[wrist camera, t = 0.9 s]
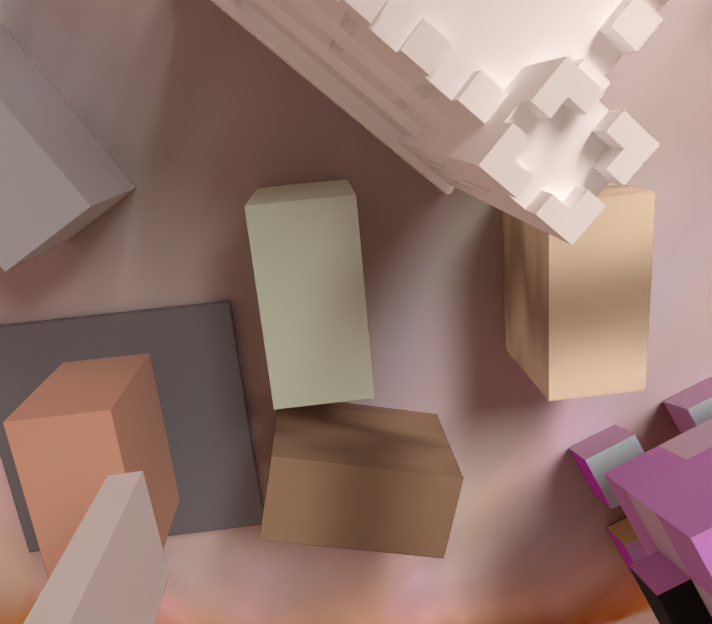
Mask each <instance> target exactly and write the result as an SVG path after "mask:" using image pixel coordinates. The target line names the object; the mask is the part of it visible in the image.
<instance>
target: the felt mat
mask: <svg viewBox="0 0 712 624" xmlns="http://www.w3.org/2000/svg"><path fill="white" fill-rule="evenodd" d="M145 353H150V357H151V362H152V367H153V372H154V377H155V382H156V387H157V392H158V396H159V401H160V406H161V411H162V416H163V421H164V426H165V431H166V435H167V440H168V445H169V450H170V455H171V460H172V465H173V470H174V474H175V479H176V484H177V489H178V494H179V499H180V501H179V504H178V507H177V510H176V512H175V515H174V518H173V521H172V524H171V527H170V530H169V533H168V536H169V535H178V534H186V533H194V532H203V531H211V530H219V529H228V528H236V527H244V526H253V525H261V523H262V515H263V506H262V499H261V493H260V487H259V481H258V474H257V468H256V462H255V456H254V449H253V443H252V437H251V431H250V424H249V418H248V412H247V406H246V399H245V393H244V387H243V380H242V374H241V368H240V362H239V355H238V349H237V343H236V337H235V330H234V324H233V318H232V312H231V305H230V301H222V302H212V303H203V304H194V305H184V306H175V307H166V308H156V309H147V310H138V311H129V312H119V313H110V314H101V315H91V316H82V317H73V318H63V319H54V320H45V321H35V322H26V323H17V324H7V325H0V455H1V458H2V462H3V465H4V468H5V472H6V475H7V478H8V482H9V485H10V488H11V492H12V495H13V499H14V502H15V505H16V509H17V512H18V515H19V519H20V522H21V525H22V529H23V532H24V536H25V539H26V542H27V546H28V549H29V552H36V551H40V548H39V545H38V541H37V538H36V534H35V531H34V527H33V524H32V520H31V517H30V514H29V510H28V507H27V503H26V500H25V496H24V493H23V490H22V486H21V483H20V479H19V476H18V472H17V469H16V465H15V462H14V459H13V455H12V452H11V448H10V445H9V441H8V438H7V435H6V431H5V428H4V424H3V422H4V421H5V420H6V419H7V418H8V417H9V416H10V415H11V414H12V413H13V412H14V411H15V410H16V409H17V408H18V407H19V406H20V405H21V404H22V403H23V402H24V401H25V400H26V399H27V398H28V397H29V396H30V395H31V394H32V393H33V392H34V391H35V390H36V389H37V388H38V387H39V386H40V385H41V384H42V383H43V382H44V381H45V380H46V379H47V378H48V377H49V376H50V375H51V374H52V373H53V372H54V371H55V370H56V369H57V368H58V367H59V366H60V365H61V364H62V363H63V362H72V361H82V360H91V359H100V358H109V357H118V356H127V355H136V354H145Z"/></svg>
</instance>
